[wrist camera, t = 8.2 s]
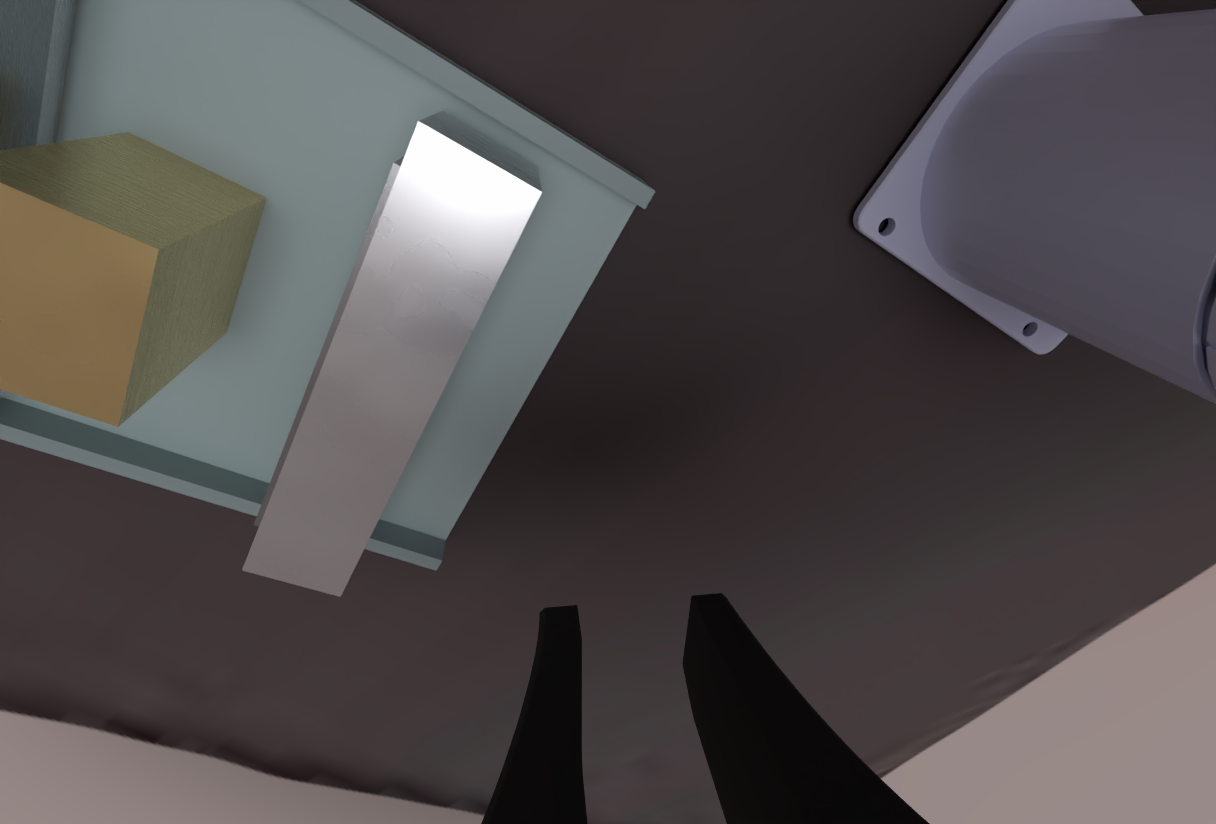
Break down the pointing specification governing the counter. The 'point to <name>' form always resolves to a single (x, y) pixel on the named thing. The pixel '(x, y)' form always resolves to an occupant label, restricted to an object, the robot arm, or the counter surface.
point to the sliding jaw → (391, 347)
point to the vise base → (320, 238)
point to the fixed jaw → (33, 70)
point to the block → (114, 270)
